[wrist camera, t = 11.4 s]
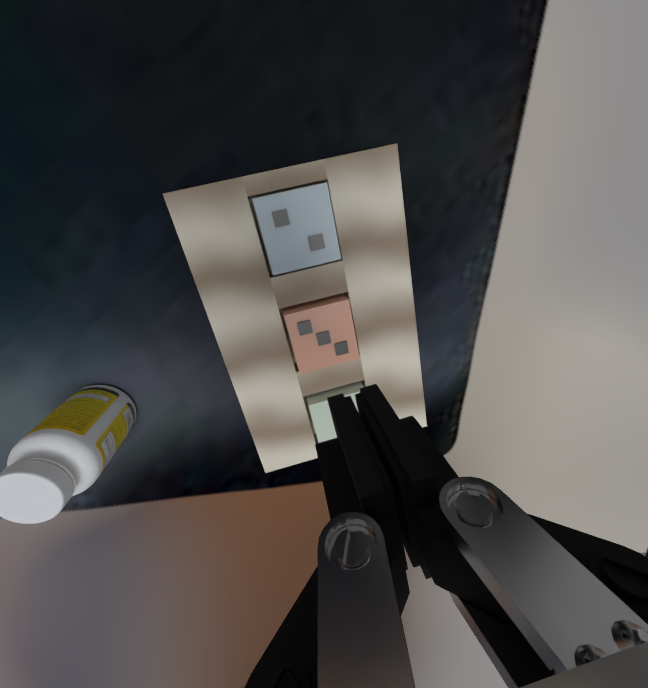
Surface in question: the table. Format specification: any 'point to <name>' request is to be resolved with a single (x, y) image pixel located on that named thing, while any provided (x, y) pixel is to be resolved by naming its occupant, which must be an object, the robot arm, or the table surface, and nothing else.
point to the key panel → (305, 293)
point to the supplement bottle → (64, 453)
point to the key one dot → (328, 409)
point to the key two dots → (298, 228)
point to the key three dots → (321, 332)
